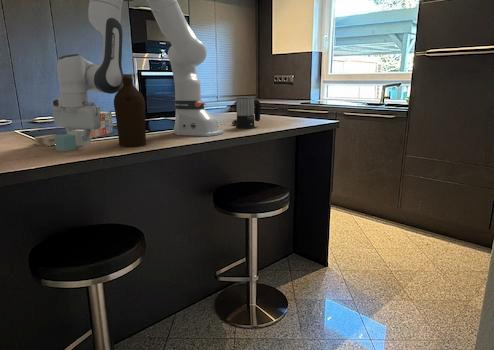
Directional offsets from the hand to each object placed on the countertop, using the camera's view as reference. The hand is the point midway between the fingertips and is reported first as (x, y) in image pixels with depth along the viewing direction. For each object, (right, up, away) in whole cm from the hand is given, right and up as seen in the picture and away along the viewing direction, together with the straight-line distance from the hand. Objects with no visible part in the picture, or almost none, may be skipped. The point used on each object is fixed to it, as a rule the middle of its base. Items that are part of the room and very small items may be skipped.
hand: (79, 140), depth 134 cm
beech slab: (-11, -1, +2) cm, 12 cm away
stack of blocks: (-3, +4, +21) cm, 22 cm away
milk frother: (+59, +11, +49) cm, 78 cm away
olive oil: (+20, -2, 0) cm, 20 cm away
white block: (0, -2, 0) cm, 2 cm away
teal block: (0, -4, -9) cm, 10 cm away
